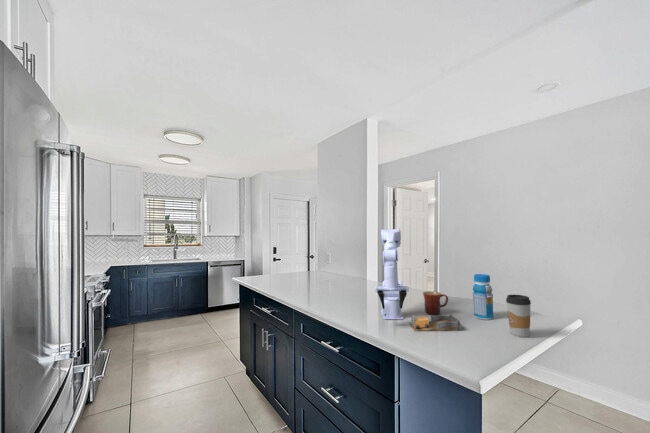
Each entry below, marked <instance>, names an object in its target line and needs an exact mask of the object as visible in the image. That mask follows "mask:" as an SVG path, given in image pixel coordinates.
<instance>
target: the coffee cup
mask: <svg viewBox="0 0 650 433" xmlns="http://www.w3.org/2000/svg"><path fill="white" fill-rule="evenodd" d="M505 299H506V300H505V302H506V307H507V308H506V310H507V318H508V326H509V330H510V334H511V335H512V336H514V337H517V338H524V339H525V338H529V337H530V335H531V304H532V303H531V299H530V297H529V296H527V295H523V294H522V295H521V294H507V296H506V298H505Z"/></svg>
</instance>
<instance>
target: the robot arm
mask: <svg viewBox="0 0 650 433" xmlns="http://www.w3.org/2000/svg"><path fill="white" fill-rule="evenodd" d="M380 231H381V233H380V234H381V235H380V236H381V238H380V239H381V245H382V247H383V250H382V261H383V263H382V264H383V271H384V276H383V277H384V280H383V281H382V286H374V292H375V293H377V295H378V298H379V299H380V316H381V318H382V319H383V320H404V317H403V316H402V309H403V306H404V301H405V299H406V297H407V294H408V292H409V291H410V288H409V286H406V285H403V281H401V280H400V279H399V276H398V275H399V274H398V270H399V269H398V262H399V251H398V248H400V247H401V244H402V242H401V240H402V236H401V235H402V234H401V232H402V231H401V228H398V229H397V228H394V229H393V228H392V229H384V228H382V229H381V230H380Z"/></svg>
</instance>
